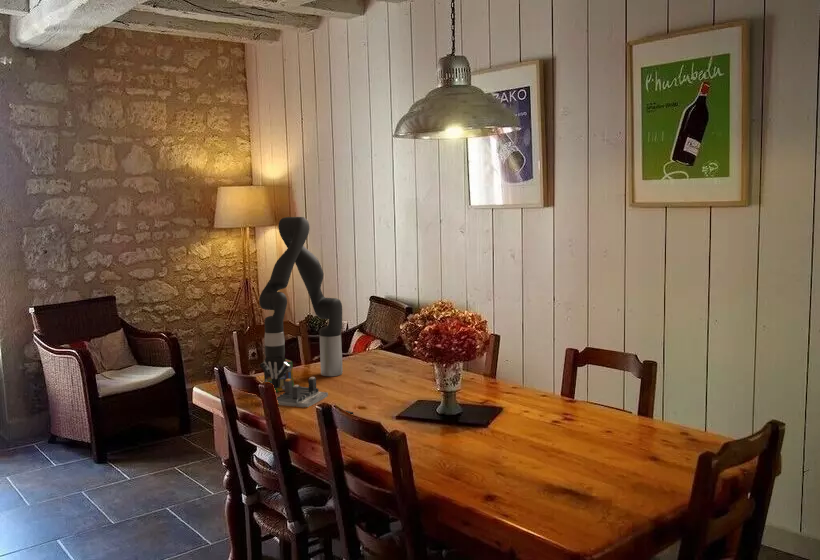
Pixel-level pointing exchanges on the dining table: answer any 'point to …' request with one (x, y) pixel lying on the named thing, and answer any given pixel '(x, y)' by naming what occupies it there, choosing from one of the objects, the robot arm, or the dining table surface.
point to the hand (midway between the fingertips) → (276, 387)
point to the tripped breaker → (288, 386)
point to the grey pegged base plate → (302, 395)
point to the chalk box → (287, 376)
